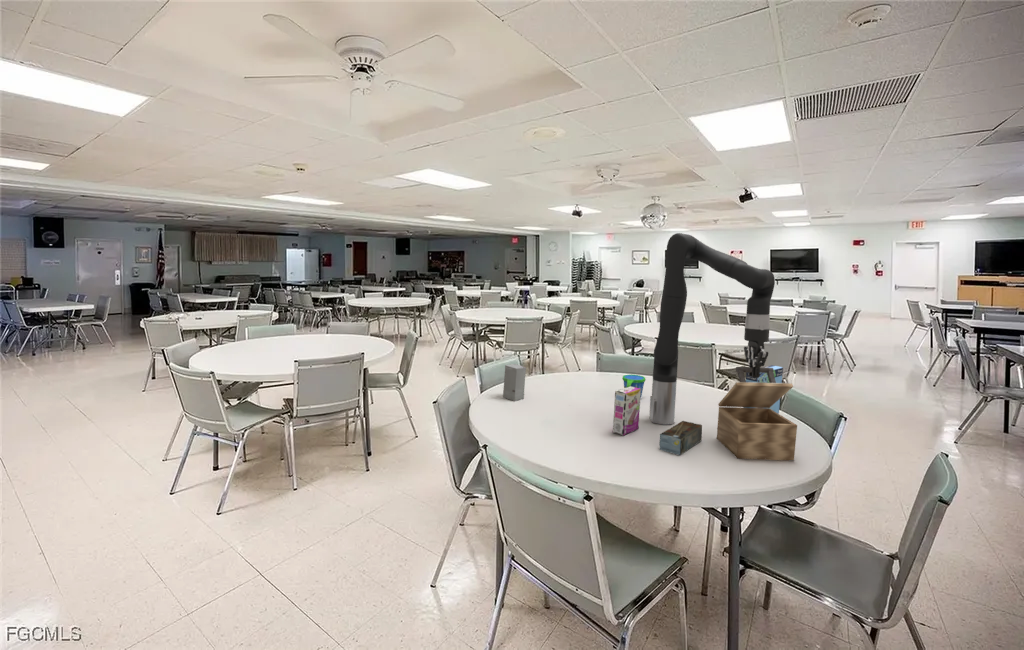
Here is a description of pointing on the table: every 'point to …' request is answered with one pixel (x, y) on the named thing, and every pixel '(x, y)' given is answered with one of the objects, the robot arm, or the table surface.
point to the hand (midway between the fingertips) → (754, 376)
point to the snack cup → (634, 381)
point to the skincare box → (514, 382)
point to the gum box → (764, 379)
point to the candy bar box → (626, 410)
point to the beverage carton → (680, 437)
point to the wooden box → (756, 433)
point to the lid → (755, 391)
